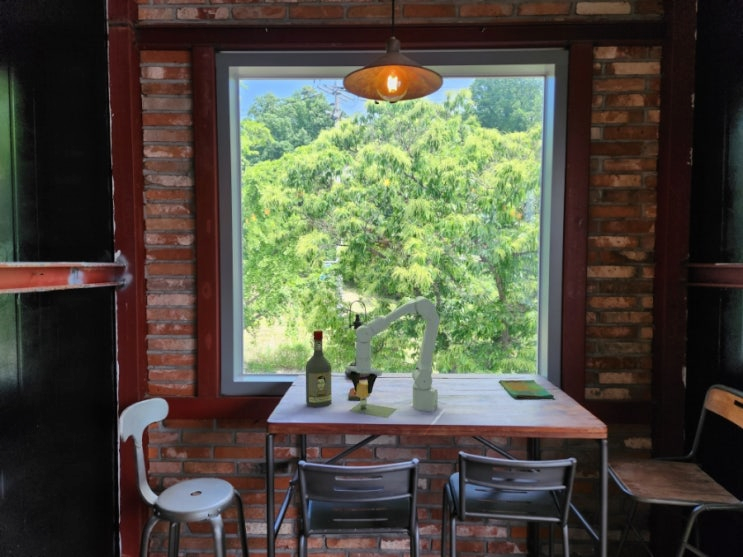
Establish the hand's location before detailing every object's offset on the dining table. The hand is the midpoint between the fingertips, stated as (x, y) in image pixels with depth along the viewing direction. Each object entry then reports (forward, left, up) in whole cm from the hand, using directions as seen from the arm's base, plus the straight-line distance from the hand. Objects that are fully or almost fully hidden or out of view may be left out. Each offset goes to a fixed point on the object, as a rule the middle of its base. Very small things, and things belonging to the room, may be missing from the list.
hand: (363, 391), depth 167 cm
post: (0, 0, -6) cm, 6 cm away
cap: (0, 0, -1) cm, 1 cm away
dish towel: (-54, -52, -8) cm, 76 cm away
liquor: (+19, +2, -8) cm, 21 cm away
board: (-4, 0, -8) cm, 8 cm away
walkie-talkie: (+9, -15, -8) cm, 20 cm away
